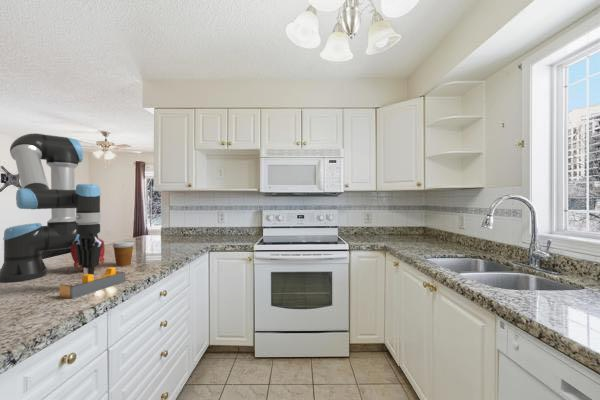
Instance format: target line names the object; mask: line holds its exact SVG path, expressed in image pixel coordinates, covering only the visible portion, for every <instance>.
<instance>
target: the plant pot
mask: <svg viewBox="0 0 600 400" xmlns="http://www.w3.org/2000/svg"><path fill="white" fill-rule="evenodd" d="M98 240H99V241H100V242H101V241H103V245H102V247H101V253H100V258H99V264H98V265H96V266H94V269H96V268H99V267H100V266H102V265H103V264H104V262H105V258H104V256H105V249H106V248H105V243H104V240H103V239H102V238H99V237H98ZM70 253H71V254H70V255H71V258H72V260H73V262H74V263H73V267H74V268H76V269H77V270H81V271H83V267H82V265H79V264H78V258H77V252H76V247H75V245H74V243H73V244H72V245H71V248H70Z"/></svg>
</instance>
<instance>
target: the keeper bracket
mask: <svg viewBox="0 0 600 400" xmlns="http://www.w3.org/2000/svg"><path fill="white" fill-rule="evenodd" d="M125 282H126V272H125V271H117V270H116V274H114V275H110V276H107V277H103V278H100V279H98V278H97V279H94V280H93V281H89V282H86V283H82V282H81V283H79V284H75V285H68V284H59V297H61V298H67V299H76V298H79V297H81V296H85V295H88V294H91V293H96V292H98V291H101V290H103V289H104V290H105V289H106V288H110V287H114V286H116V285H119V284H123V283H125Z"/></svg>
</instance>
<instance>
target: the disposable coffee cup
mask: <svg viewBox="0 0 600 400" xmlns="http://www.w3.org/2000/svg"><path fill="white" fill-rule="evenodd" d="M134 245H135V243H134V241H132V240H122V241H121V240H120V241H115V242H113V243H112V248H113V252H114V258H115V265H116V267H118V268H119V267H128V266H130V265H131V264H132V258H133V257H132V256H133V252H134V251H133V249H134Z"/></svg>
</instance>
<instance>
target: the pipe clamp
mask: <svg viewBox="0 0 600 400" xmlns="http://www.w3.org/2000/svg"><path fill="white" fill-rule="evenodd" d="M116 269H117V268H116V267H113V266H111V267H106V268H105V272H104V275H102V276H100V277H98V278H97V279H100V278H103V277H107V276H110V275H114V274H116V271H117V270H116ZM81 280H82V281H81V284H82V283H86V282H89V281H93V280H95V278H93V274H85V275H83V274H82V275H81Z"/></svg>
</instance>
